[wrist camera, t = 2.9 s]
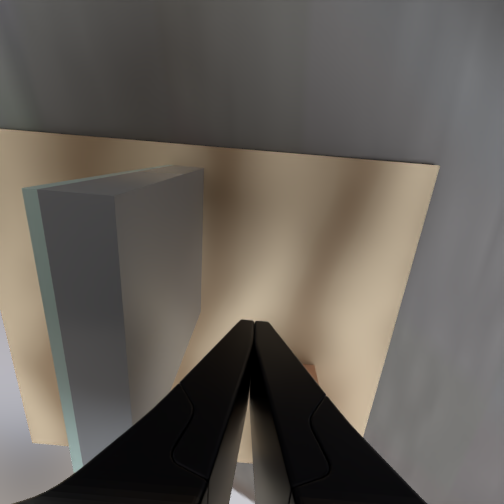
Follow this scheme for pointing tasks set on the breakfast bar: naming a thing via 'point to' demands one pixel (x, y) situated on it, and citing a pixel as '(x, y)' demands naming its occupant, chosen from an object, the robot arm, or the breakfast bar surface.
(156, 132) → the breakfast bar surface
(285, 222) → the oak board
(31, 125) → the breakfast bar surface
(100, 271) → the slate tile
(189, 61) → the breakfast bar surface
